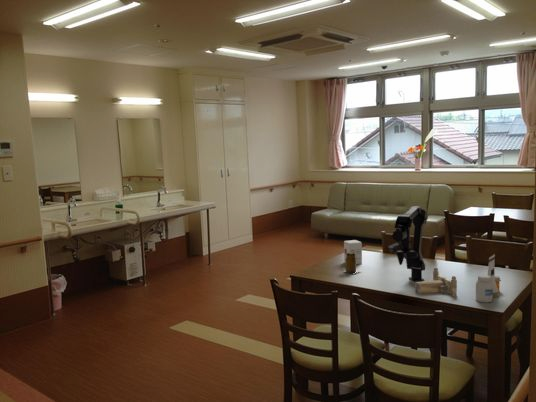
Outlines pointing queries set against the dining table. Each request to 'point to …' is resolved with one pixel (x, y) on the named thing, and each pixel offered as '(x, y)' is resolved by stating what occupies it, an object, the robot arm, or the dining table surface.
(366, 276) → the dining table surface
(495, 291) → the toiletry set
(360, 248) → the supplement box
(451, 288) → the beige base with posts
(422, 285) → the beige rectangular block
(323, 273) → the dining table surface
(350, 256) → the condiment
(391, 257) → the dining table surface
